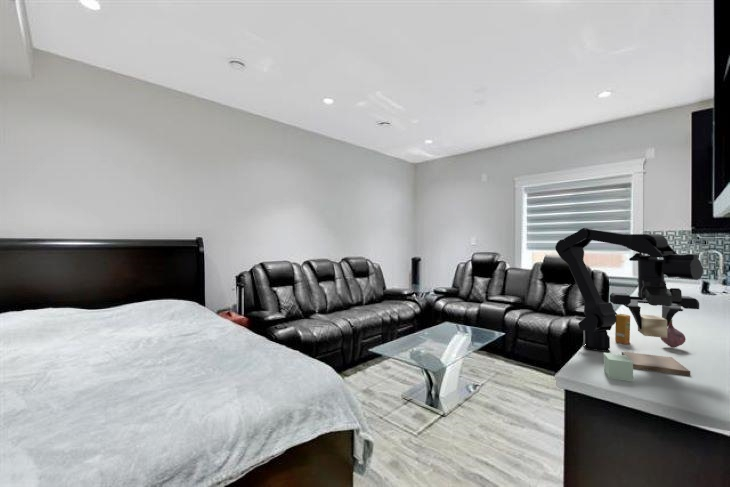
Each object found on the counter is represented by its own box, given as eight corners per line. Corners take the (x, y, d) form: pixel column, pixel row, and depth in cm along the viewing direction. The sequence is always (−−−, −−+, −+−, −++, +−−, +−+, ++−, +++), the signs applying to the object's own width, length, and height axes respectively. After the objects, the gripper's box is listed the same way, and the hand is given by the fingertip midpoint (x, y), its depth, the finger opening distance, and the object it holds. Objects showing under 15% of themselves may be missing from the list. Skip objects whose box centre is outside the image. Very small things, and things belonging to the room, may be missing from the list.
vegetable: (655, 345, 110) (654, 316, 110) (675, 345, 109) (674, 317, 109) (669, 350, 104) (668, 320, 104) (690, 351, 103) (689, 321, 103)
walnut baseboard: (632, 368, 89) (632, 364, 89) (621, 355, 100) (621, 351, 100) (690, 375, 84) (690, 371, 84) (671, 361, 94) (671, 357, 94)
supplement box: (626, 344, 111) (625, 316, 111) (615, 341, 114) (614, 314, 114) (631, 343, 112) (630, 315, 113) (619, 340, 116) (619, 313, 116)
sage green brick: (609, 378, 83) (608, 359, 83) (603, 370, 88) (603, 352, 88) (633, 381, 81) (632, 362, 81) (626, 373, 86) (626, 355, 86)
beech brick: (644, 335, 91) (644, 318, 91) (637, 330, 96) (637, 314, 96) (667, 337, 88) (667, 320, 88) (659, 332, 94) (659, 315, 94)
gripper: (618, 278, 89) (619, 333, 89) (709, 280, 81) (710, 341, 81) (608, 274, 99) (609, 324, 99) (689, 276, 91) (690, 331, 91)
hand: (651, 329), depth 92 cm, fingers closed on beech brick, 5 cm apart
